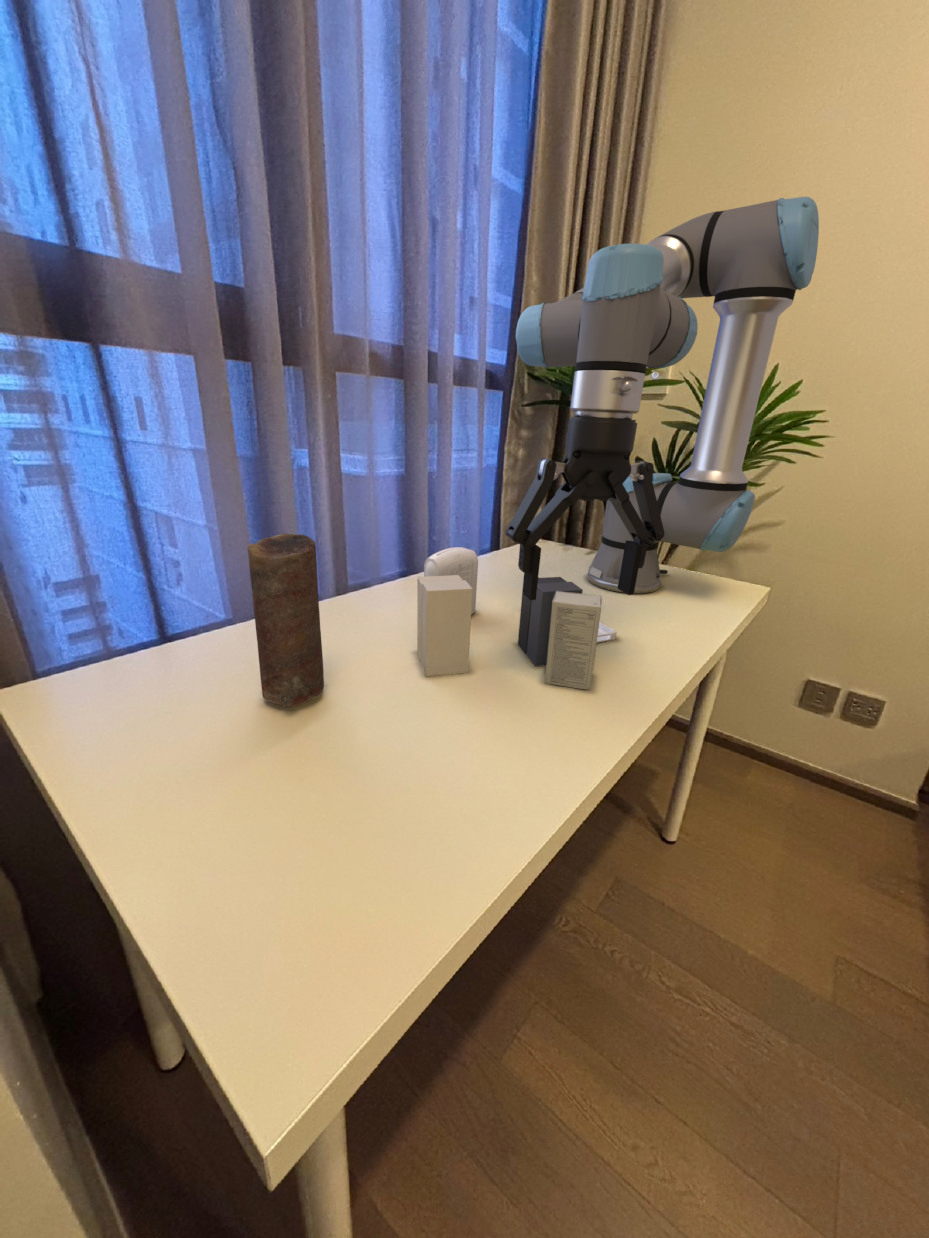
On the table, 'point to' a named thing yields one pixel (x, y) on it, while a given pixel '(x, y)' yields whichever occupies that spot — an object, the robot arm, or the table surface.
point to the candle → (287, 618)
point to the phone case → (605, 633)
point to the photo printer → (455, 567)
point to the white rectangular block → (443, 624)
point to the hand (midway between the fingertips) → (578, 594)
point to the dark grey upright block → (540, 618)
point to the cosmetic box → (573, 639)
